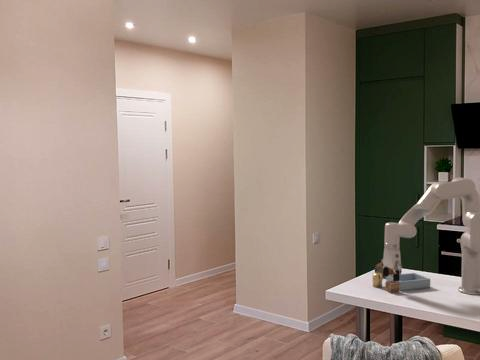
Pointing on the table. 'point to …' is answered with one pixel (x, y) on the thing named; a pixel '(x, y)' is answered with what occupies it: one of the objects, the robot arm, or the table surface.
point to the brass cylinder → (377, 280)
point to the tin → (380, 269)
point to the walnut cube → (392, 287)
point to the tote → (411, 281)
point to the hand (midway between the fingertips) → (390, 278)
